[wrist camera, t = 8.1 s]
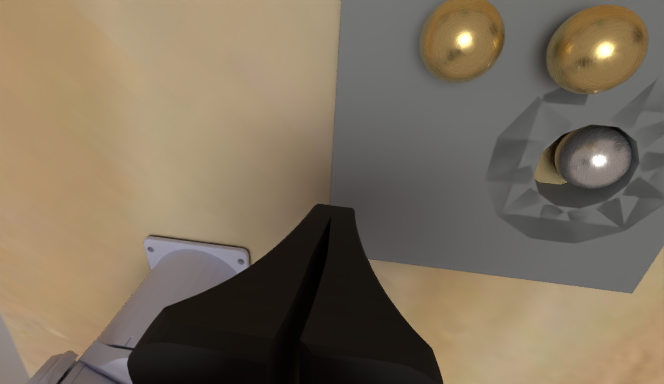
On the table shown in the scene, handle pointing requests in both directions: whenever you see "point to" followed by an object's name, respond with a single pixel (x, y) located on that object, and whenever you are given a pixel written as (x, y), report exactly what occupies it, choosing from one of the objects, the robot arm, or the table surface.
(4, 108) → the table surface
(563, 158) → the ball
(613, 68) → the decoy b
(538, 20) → the plate
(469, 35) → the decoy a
